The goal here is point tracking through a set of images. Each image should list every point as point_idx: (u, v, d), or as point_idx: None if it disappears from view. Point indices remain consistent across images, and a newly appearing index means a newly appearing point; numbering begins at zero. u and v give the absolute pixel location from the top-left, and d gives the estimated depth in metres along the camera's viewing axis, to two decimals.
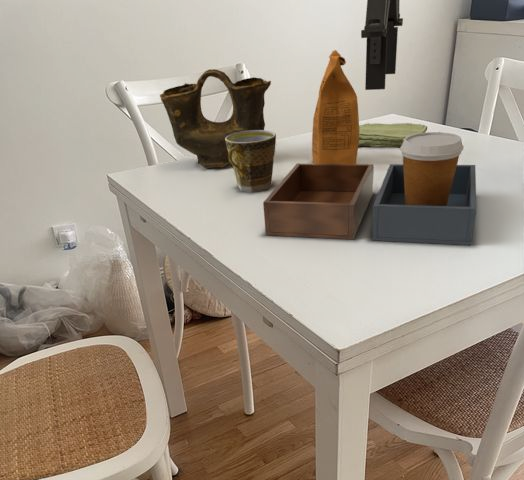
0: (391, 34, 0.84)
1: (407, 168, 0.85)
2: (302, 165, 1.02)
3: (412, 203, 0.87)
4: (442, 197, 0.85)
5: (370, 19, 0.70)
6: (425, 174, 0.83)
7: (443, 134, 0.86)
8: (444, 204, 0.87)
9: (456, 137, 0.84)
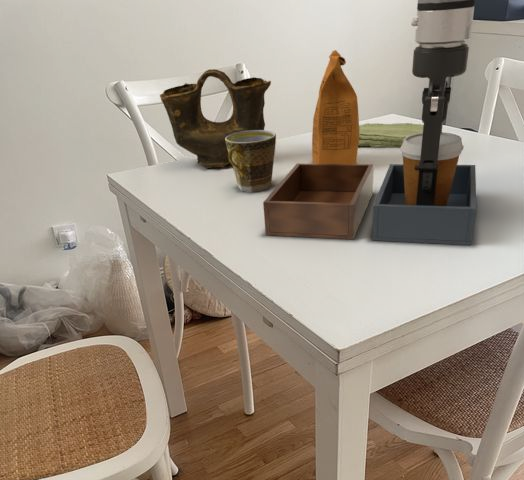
0: None
1: (407, 168, 0.85)
2: (302, 165, 1.02)
3: (412, 203, 0.87)
4: (442, 197, 0.85)
5: (424, 159, 0.78)
6: None
7: (443, 134, 0.86)
8: (444, 204, 0.87)
9: (456, 137, 0.84)
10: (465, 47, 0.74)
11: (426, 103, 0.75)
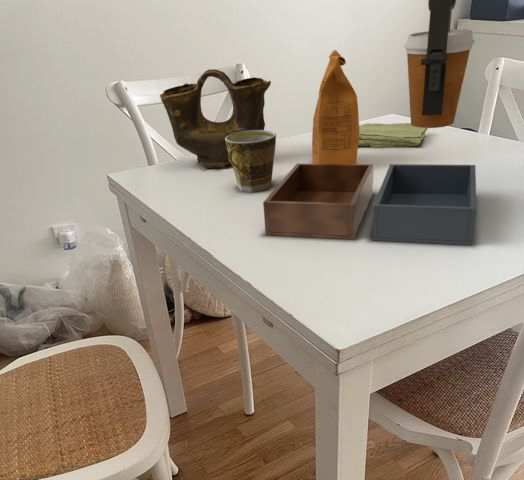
0: None
1: (412, 67, 0.77)
2: (302, 165, 1.02)
3: (418, 109, 0.79)
4: (451, 100, 0.78)
5: (432, 48, 0.70)
6: None
7: (451, 31, 0.78)
8: (453, 110, 0.79)
9: (466, 31, 0.76)
10: None
11: None
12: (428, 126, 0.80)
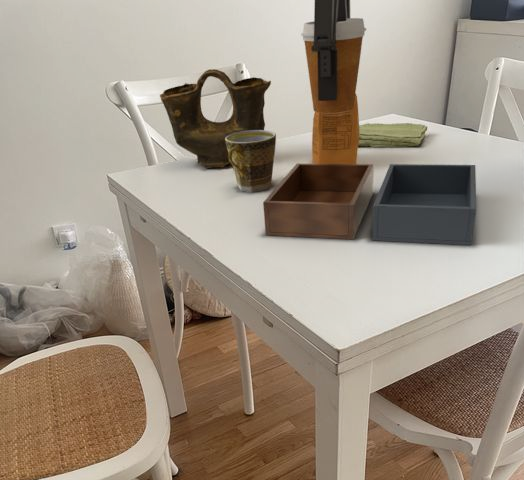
0: None
1: (308, 54, 0.80)
2: (302, 165, 1.02)
3: (316, 94, 0.82)
4: (346, 86, 0.81)
5: (318, 35, 0.73)
6: None
7: (348, 20, 0.81)
8: (350, 96, 0.82)
9: (359, 20, 0.79)
10: None
11: None
12: (327, 111, 0.83)
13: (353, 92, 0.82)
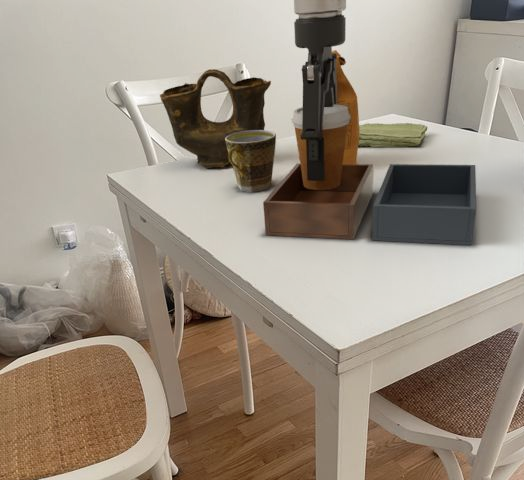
0: None
1: (298, 138, 0.87)
2: None
3: (306, 173, 0.90)
4: (333, 167, 0.88)
5: (306, 128, 0.81)
6: None
7: (334, 106, 0.88)
8: (337, 174, 0.89)
9: (344, 108, 0.86)
10: (340, 17, 0.77)
11: (303, 72, 0.77)
12: (315, 188, 0.90)
13: (339, 171, 0.90)
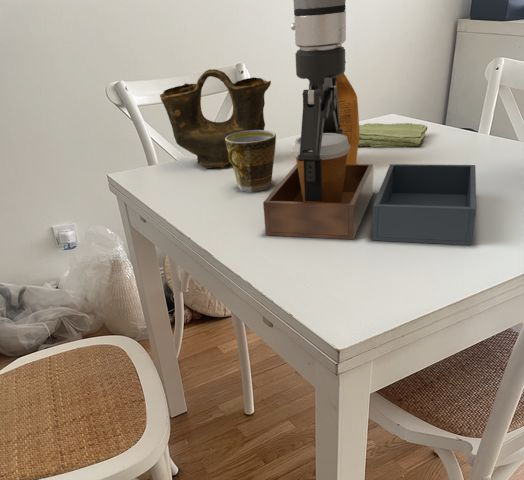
0: None
1: (299, 166, 0.90)
2: None
3: None
4: (333, 194, 0.91)
5: (304, 149, 0.81)
6: None
7: (334, 135, 0.91)
8: (337, 201, 0.92)
9: (344, 138, 0.89)
10: (340, 50, 0.79)
11: (303, 95, 0.79)
12: None
13: (339, 198, 0.92)
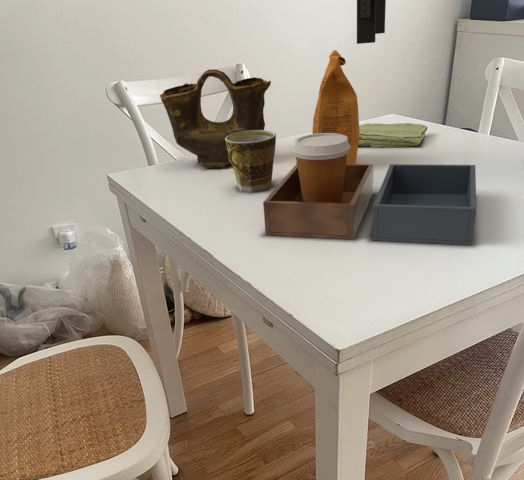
0: None
1: (299, 166, 0.90)
2: None
3: (307, 200, 0.92)
4: (333, 194, 0.91)
5: None
6: (314, 173, 0.88)
7: (334, 135, 0.91)
8: (337, 201, 0.92)
9: (344, 138, 0.89)
10: None
11: None
12: None
13: (339, 198, 0.92)
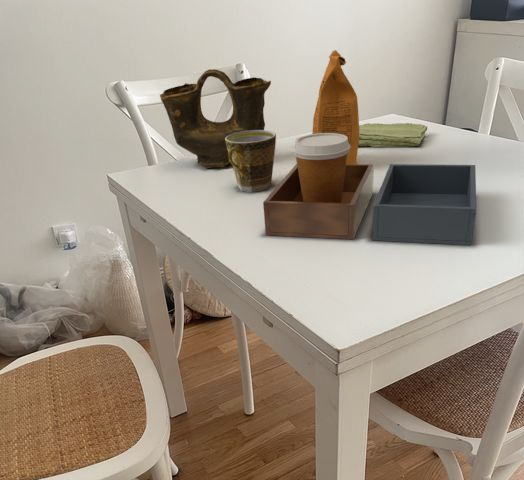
0: None
1: (299, 166, 0.90)
2: None
3: (307, 200, 0.92)
4: (333, 194, 0.91)
5: None
6: (314, 173, 0.88)
7: (334, 135, 0.91)
8: (337, 201, 0.92)
9: (344, 138, 0.89)
10: None
11: None
12: None
13: (339, 198, 0.92)
